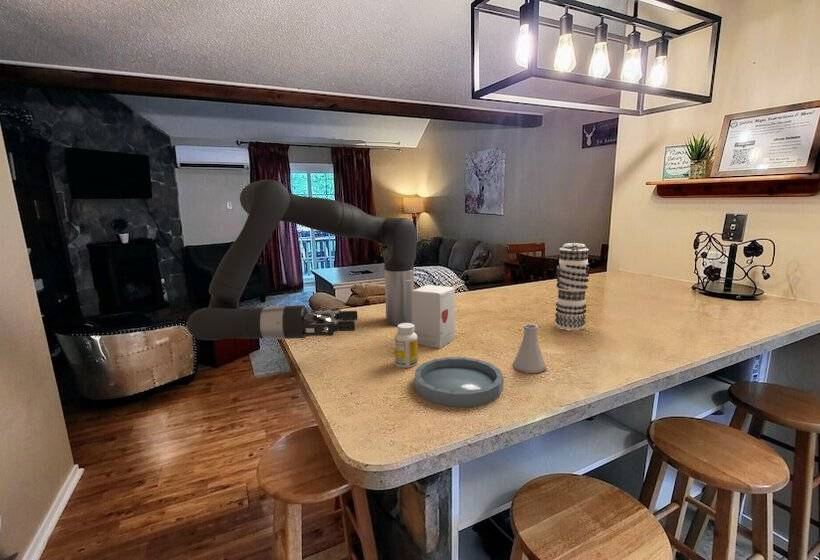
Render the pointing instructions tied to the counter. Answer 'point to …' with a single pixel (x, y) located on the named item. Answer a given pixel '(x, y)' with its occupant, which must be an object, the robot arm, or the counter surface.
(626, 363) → the counter surface
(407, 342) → the supplement bottle
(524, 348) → the flask
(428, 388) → the dish
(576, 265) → the decorative candle
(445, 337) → the supplement box
